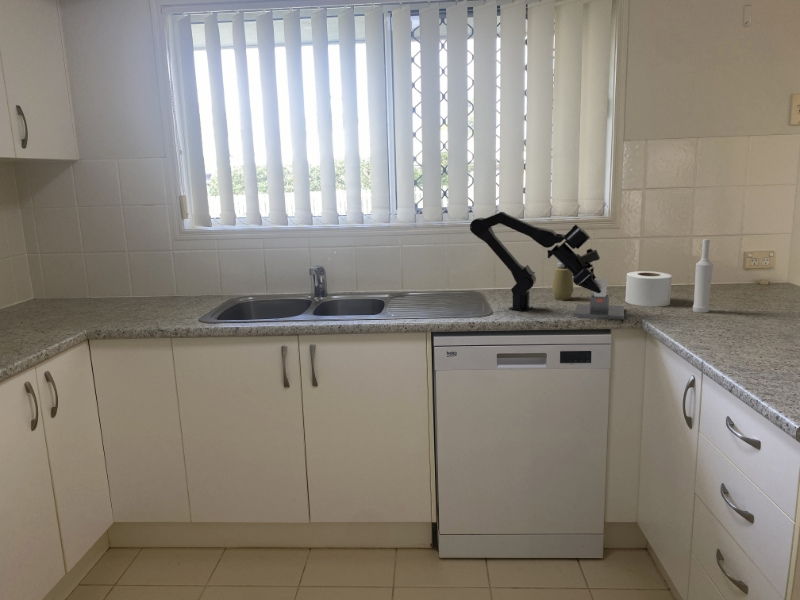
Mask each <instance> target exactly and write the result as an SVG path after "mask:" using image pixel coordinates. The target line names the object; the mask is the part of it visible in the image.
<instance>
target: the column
mask: <svg viewBox="0 0 800 600" xmlns="http://www.w3.org/2000/svg"><path fill="white" fill-rule="evenodd" d="M594 282H595V283H596V285H597V286H598V287H599V289H600V290H601V292H600V293H596V292H594V291H593V294H594V297H598V298H606V295H607V285H608V284H607V283H608V278H605V277H603V278H600V277H598V278H597V277H596V278H595V280H594Z"/></svg>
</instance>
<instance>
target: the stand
mask: <svg viewBox="0 0 800 600" xmlns="http://www.w3.org/2000/svg"><path fill="white" fill-rule="evenodd" d="M589 302H590V304H588V303H586V304H585V303H576V307H575V310H574V312H573V317H574V318H589V319H606V320H607V319H608V320H609V319H610V320H624V319H625V307H624V305H615V304H614V305H612V304H611V305H610V294H606V298H598V297H594V293H591V294H590V300H589Z"/></svg>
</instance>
